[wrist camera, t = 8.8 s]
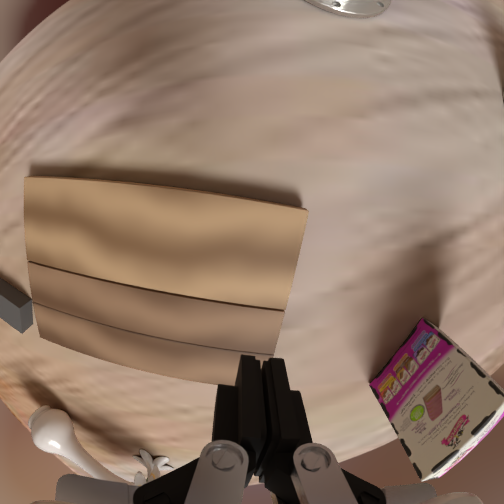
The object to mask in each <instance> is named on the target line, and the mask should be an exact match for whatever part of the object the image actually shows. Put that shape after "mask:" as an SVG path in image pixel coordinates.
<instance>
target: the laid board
mask: <svg viewBox="0 0 504 504" xmlns="http://www.w3.org/2000/svg"><path fill="white" fill-rule="evenodd" d="M27 263H28V272H29V280H30V288H31V294H32V300H33V306H34V311H35V316H36V321H37V325H38V330H39V334H40V337H41V338H43V339H46V340H48V341H51V342H53V343H56V344H58V345H61V346H64V347H66V348H69V349H72V350H74V351H77V352H80V353H83V354H86V355H89V356H92V357H95V358H98V359H102V360H105V361H108V362H112V363H115V364H119V365H122V366H126V367H130V368H134V369H137V370H142V371H146V372H150V373H154V374H159V375H163V376H168V377H173V378H178V379H184V380H189V381H195V382H201V383H207V384H214V385H218V384H224V385H232V386H235V381H236V376H237V371H238V366H239V361H240V357H241V354H243V355H251V356H255V358H256V360H260V363H261V368H262V364H263V361H264V360H265V361H268V359H269V358H273V356H274V352H275V348H276V344H277V340H278V337H279V333H280V329H281V325H282V321H283V317H284V313H285V311H284V310H283V309H275V308H267V307H259V306H252V305H245V304H238V303H231V302H224V301H218V300H211V299H205V298H199V297H193V296H187V295H181V294H176V293H170V292H165V291H159V290H154V289H149V288H144V287H139V286H134V285H129V284H124V283H119V282H115V281H110V280H106V279H101V278H97V277H92V276H88V275H84V274H79V273H75V272H71V271H67V270H63V269H59V268H55V267H51V266H48V265H44V264H40V263H36V262H33V261H29V262H27Z"/></svg>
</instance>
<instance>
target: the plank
mask: <svg viewBox="0 0 504 504" xmlns="http://www.w3.org/2000/svg"><path fill="white" fill-rule="evenodd" d="M308 213H309V211H308V210H307V209H305V208H301V207H296V206H291V205H285V204H280V203H275V202H269V201H263V200H257V199H251V198H245V197H239V196H233V195H226V194H220V193H213V192H206V191H199V190H192V189H184V188H176V187H168V186H160V185H151V184H142V183H132V182H122V181H110V180H98V179H85V178H69V177H50V176H29V177H24V228H25V243H26V254H27V260H29V261H33V262H36V263H40V264H44V265H48V266H51V267H55V268H59V269H63V270H67V271H71V272H75V273H79V274H84V275H88V276H92V277H97V278H101V279H106V280H110V281H115V282H119V283H124V284H129V285H134V286H139V287H144V288H149V289H154V290H159V291H165V292H170V293H176V294H181V295H187V296H193V297H199V298H205V299H211V300H218V301H224V302H231V303H238V304H245V305H252V306H259V307H267V308H275V309H283V310H285V309H286V306H287V302H288V298H289V294H290V290H291V286H292V282H293V278H294V274H295V270H296V266H297V261H298V257H299V253H300V249H301V244H302V240H303V236H304V231H305V227H306V222H307V217H308Z"/></svg>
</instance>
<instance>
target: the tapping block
mask: <svg viewBox="0 0 504 504" xmlns="http://www.w3.org/2000/svg"><path fill="white" fill-rule="evenodd" d="M0 318H2V319H3V320H4V321H5V322H7V323H8V324H9V325H11V326H12V327H13V328H15V329H16V330H18V331H19V332H20V333H23V332H25V331H26V330H27V329H28V328H29V327H30V326H31V325H32V324H33V314H32V299H31V298H29V297H28V296H26V295H25V294H23V293H22V292H20V291H19V290H17V289H16V288H14V287H13V286H11V285H10V284H8V283H7V282H6V281H4V280H3V279H1V278H0Z"/></svg>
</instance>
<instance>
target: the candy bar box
mask: <svg viewBox="0 0 504 504" xmlns="http://www.w3.org/2000/svg"><path fill="white" fill-rule="evenodd" d="M369 386H370V387H371V389H372V391H373V393H374V395H375V396H376V398H377V400H378V402H379V404H380V405H381V407H382V409H383V411H384V412H385V414H386V416H387V418H388V420H389V422H390V423H391V425H392V427H393V428H394V430H395V432H396V434H397V436H398V438H399V440H400V441H401V444H402V446H403V447H404V449H405V451H406V453H407V455H408V457H409V459H410V461H411V462H412V464H413V466H414V468H415V470H416V472H417V474H418V476H419V478H420V480H421V481H425V480H429V479H435V478H439V477H441V476H442V475H443V474H445V473H446V472H447V471H448V470H449V469H450V468H452V467H453V466H454V465H455V464H457V463H458V462H459V461H460V460H461V459H463V458H464V457H465V456H466V455H467V454H468V453H469V452H470V451H471V450H472V449H473V448H474V447H475V446H476V445H477V444H478V443H479V442H480V441H481V440H482V439H483V438H484V437H485V436H486V435H487V434H488V433H489V432H490V431H491V430H492V429H493V428H494V427H495V425H496V424H497V423H498V422H499V421H500V420H501V419H502V417H503V416H504V390H503V389H502V388H501V387H500V386H499V385H498V384H497V383H496V382H495V381H494V379H492V377H490V376H489V375H488V374H487V373H486V372H485V370H484V369H483V368H481V367H480V366H479V365H478V364H477V363H476V362H475V361H474V360H473V359H472V358H471V357H470V356H469V355H468V354H467V353H466V352H465V351H464V350H463V349H461V348H460V347H459V346H458V345H457V344H456V343H455V342H454V341H453V340H452V339H451V338H449V337H448V336H447V335H446V334H445V333H444V332H443V331H441V330H440V329H439V328H437V327H436V326H435V325H433V324H432V323H430V322H429V321H428V320H426V319H425V318H422V319H421V320H420V321H419V323H418V324H417V326H416V327H415V328H414V330H413V331H412V333H411V334H410V335H409V337H408V338H407V339H406V341H405V342H404V343H403V345H402V346H401V347H400V349H399V350H398V351H397V352H396V354H395V355H394V356H393V357H392V359H391V360H390V361H389V362H388V364H387V365H386V366H385V367H384V368H383V370H382V371H381V372H380V373H379V374H378V375H377V377H376V378H375V379H374V380H373V381H372V382H371V383H370V384H369Z"/></svg>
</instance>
